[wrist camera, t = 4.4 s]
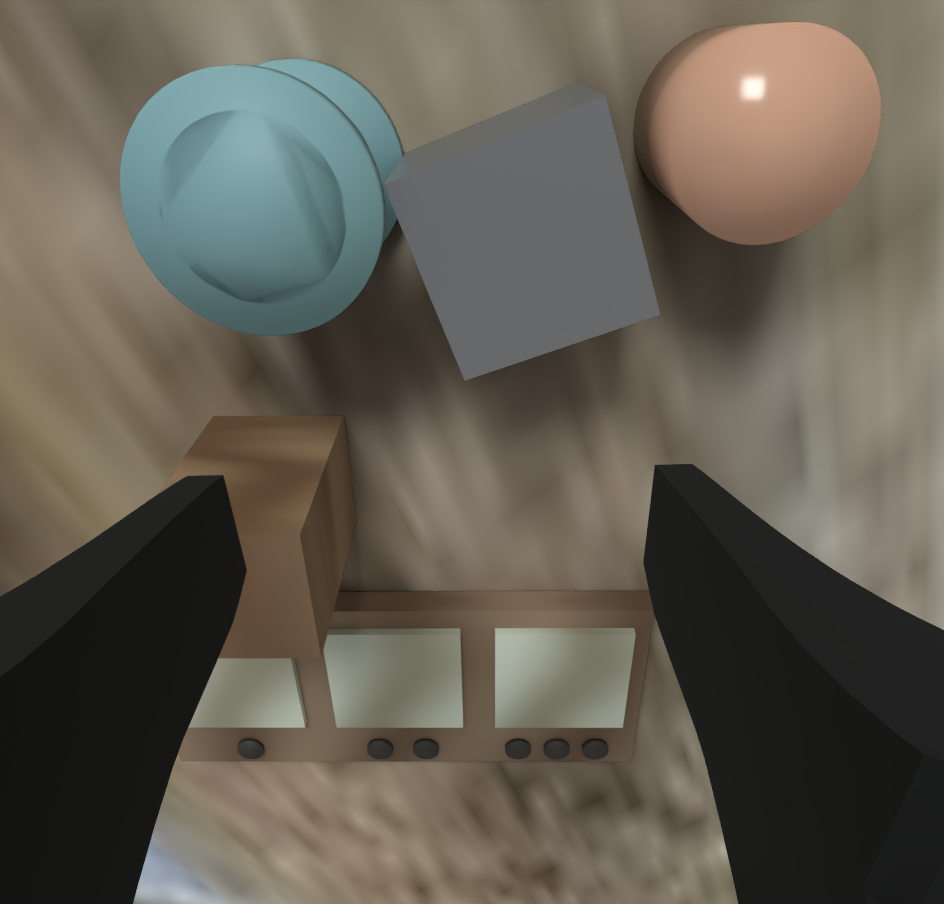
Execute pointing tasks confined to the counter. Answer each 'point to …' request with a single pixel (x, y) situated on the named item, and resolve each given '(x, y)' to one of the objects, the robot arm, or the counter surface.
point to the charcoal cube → (525, 231)
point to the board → (441, 682)
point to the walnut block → (282, 525)
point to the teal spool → (261, 192)
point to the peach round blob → (758, 127)
